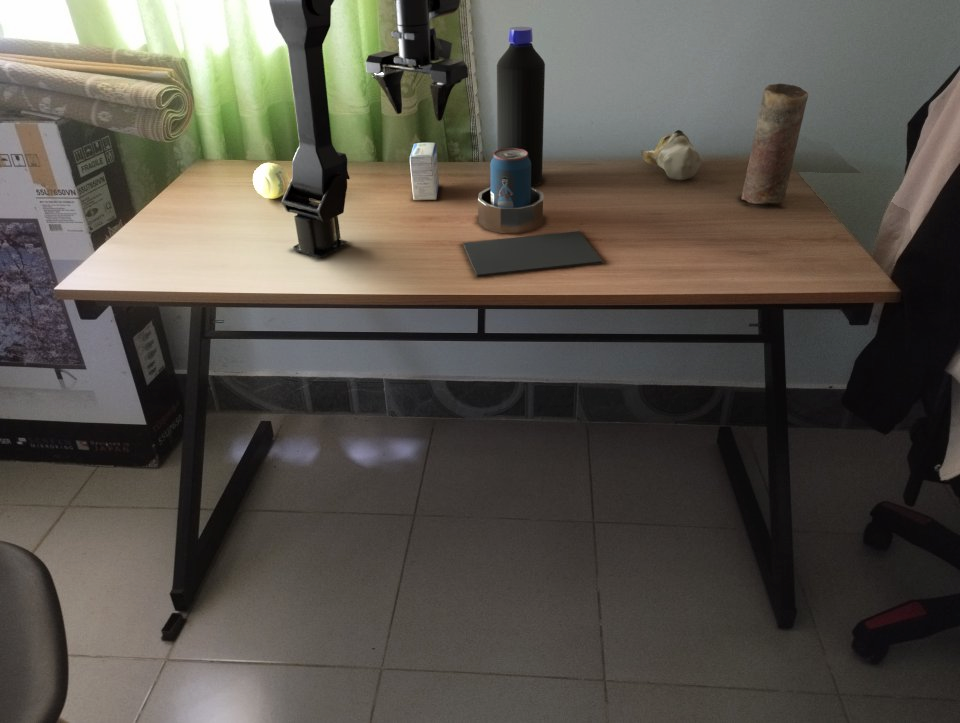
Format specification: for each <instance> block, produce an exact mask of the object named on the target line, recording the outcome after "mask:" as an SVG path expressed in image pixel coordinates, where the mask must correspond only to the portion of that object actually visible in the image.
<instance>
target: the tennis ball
mask: <svg viewBox="0 0 960 723" xmlns="http://www.w3.org/2000/svg"><path fill="white" fill-rule="evenodd" d="M252 178H253V179H252V182H253V186H254V189H255V190H256V192H257V193H258V194H259V195H260V196H262V197H263V198H266V199H278V198H280V197H282V196H284V195H285V193H286V191H287V189H288V186H289V184H290V180H289V175H288V173H287V171H286V170H285V169H284V168H283V167H282V166H280V165H279V164H277V163H271V162H266V163H263V164H261V165H260V166H259V167H257V168H256V170H254V173H253V176H252Z"/></svg>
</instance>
